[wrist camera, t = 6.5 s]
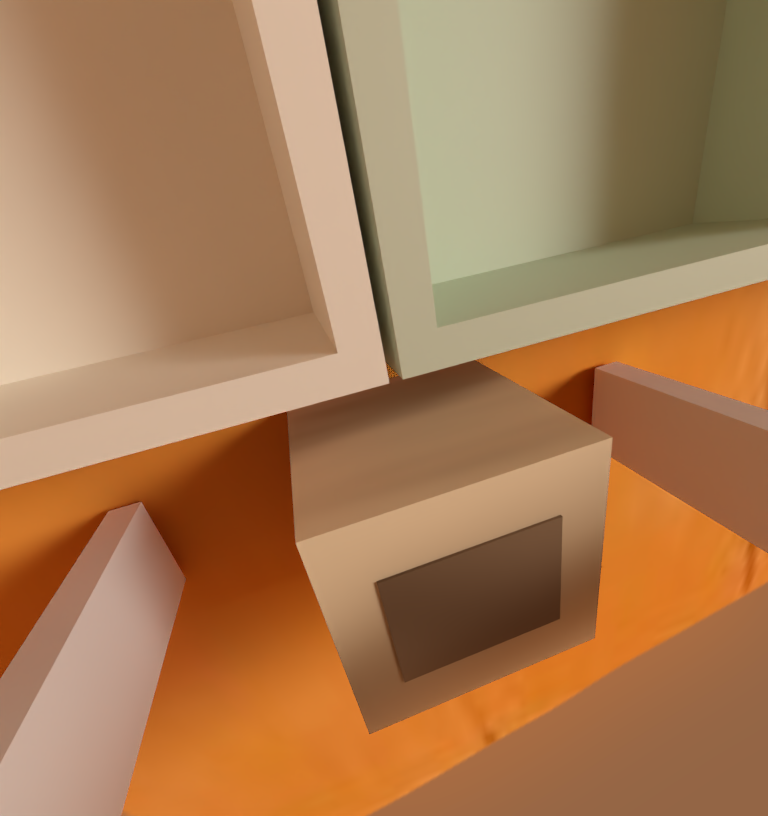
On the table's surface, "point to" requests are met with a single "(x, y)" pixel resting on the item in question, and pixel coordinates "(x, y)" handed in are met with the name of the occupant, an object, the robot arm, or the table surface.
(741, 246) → the box
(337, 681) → the table surface
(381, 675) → the letter cube
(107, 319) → the caddy cream
